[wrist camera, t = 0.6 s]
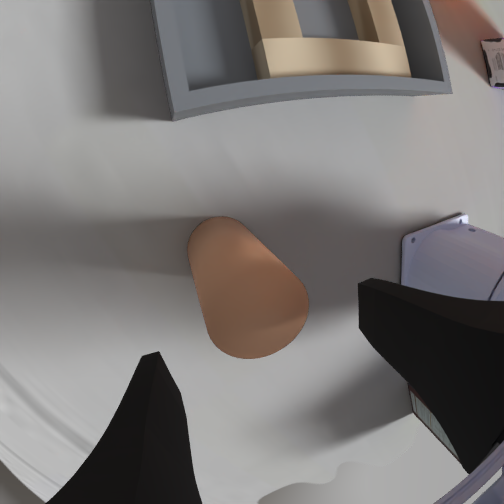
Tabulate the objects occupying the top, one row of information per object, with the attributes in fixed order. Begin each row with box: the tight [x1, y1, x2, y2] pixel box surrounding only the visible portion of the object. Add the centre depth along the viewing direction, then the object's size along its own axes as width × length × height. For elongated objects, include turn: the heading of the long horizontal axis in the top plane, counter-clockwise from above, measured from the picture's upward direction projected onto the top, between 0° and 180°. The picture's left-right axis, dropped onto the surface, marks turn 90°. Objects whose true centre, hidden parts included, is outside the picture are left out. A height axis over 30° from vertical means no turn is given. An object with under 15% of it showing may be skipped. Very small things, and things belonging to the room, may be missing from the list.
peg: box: [187, 217, 309, 359], centre depth 15 cm, size 4×4×8 cm
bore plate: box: [239, 0, 412, 80], centre depth 13 cm, size 10×10×2 cm
